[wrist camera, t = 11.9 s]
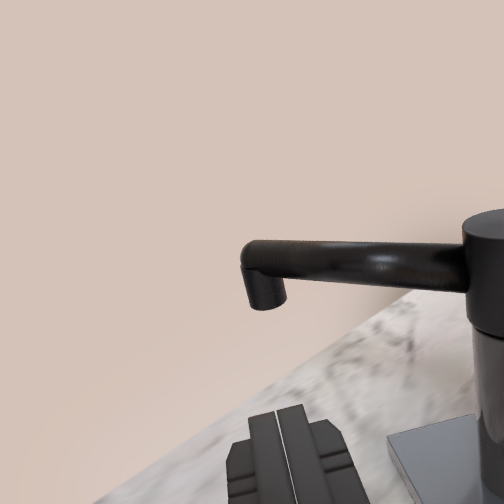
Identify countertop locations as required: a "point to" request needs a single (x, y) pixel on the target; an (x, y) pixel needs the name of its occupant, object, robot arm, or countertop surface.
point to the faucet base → (460, 441)
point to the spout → (390, 267)
